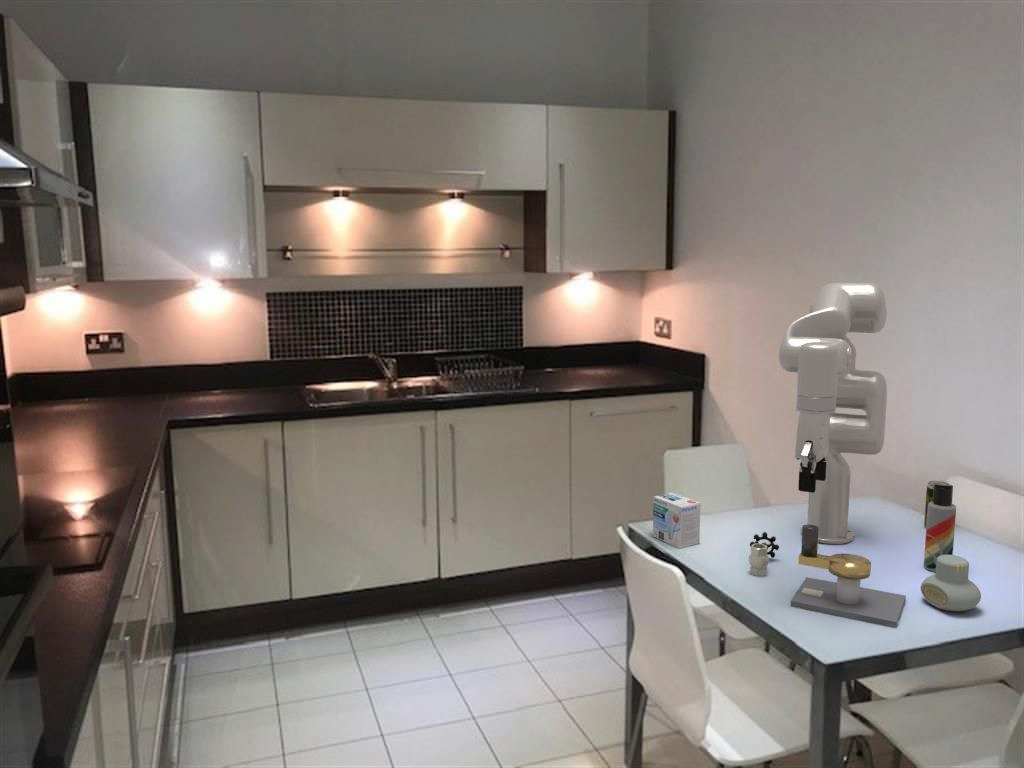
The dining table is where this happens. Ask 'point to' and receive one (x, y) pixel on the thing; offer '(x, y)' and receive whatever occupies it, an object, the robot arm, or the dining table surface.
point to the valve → (761, 554)
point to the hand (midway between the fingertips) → (812, 485)
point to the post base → (849, 601)
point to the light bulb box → (676, 520)
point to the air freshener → (951, 585)
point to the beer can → (930, 495)
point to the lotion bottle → (939, 526)
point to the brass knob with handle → (831, 558)
